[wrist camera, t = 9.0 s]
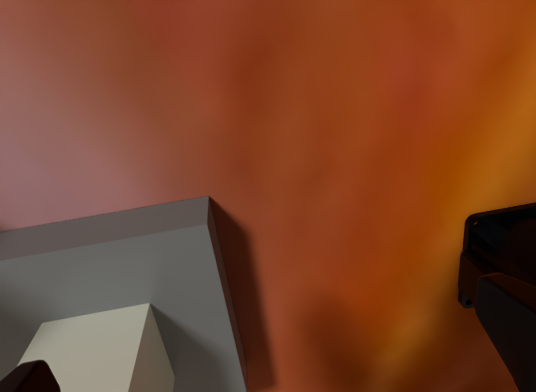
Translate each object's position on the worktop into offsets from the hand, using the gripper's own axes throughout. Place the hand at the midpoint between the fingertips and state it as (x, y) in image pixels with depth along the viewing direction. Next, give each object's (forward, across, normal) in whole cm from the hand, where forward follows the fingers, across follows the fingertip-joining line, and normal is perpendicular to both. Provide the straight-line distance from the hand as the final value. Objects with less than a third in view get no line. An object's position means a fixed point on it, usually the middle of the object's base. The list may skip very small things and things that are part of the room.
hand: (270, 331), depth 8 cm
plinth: (+12, +8, +8) cm, 16 cm away
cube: (+9, +8, +8) cm, 14 cm away
